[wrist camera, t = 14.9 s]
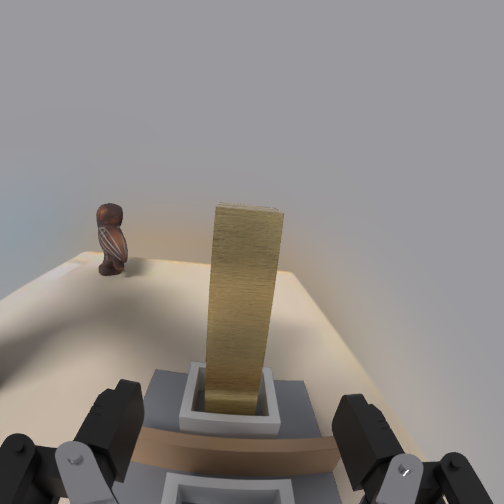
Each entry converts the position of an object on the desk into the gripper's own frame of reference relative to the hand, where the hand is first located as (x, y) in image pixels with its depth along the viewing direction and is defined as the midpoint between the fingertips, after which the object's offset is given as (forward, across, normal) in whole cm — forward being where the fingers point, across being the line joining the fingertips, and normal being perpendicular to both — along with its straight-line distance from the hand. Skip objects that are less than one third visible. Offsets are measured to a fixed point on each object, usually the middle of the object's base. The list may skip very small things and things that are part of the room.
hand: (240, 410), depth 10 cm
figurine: (+47, +26, +12) cm, 55 cm away
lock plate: (+4, 0, +12) cm, 13 cm away
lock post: (+10, 0, +11) cm, 15 cm away
